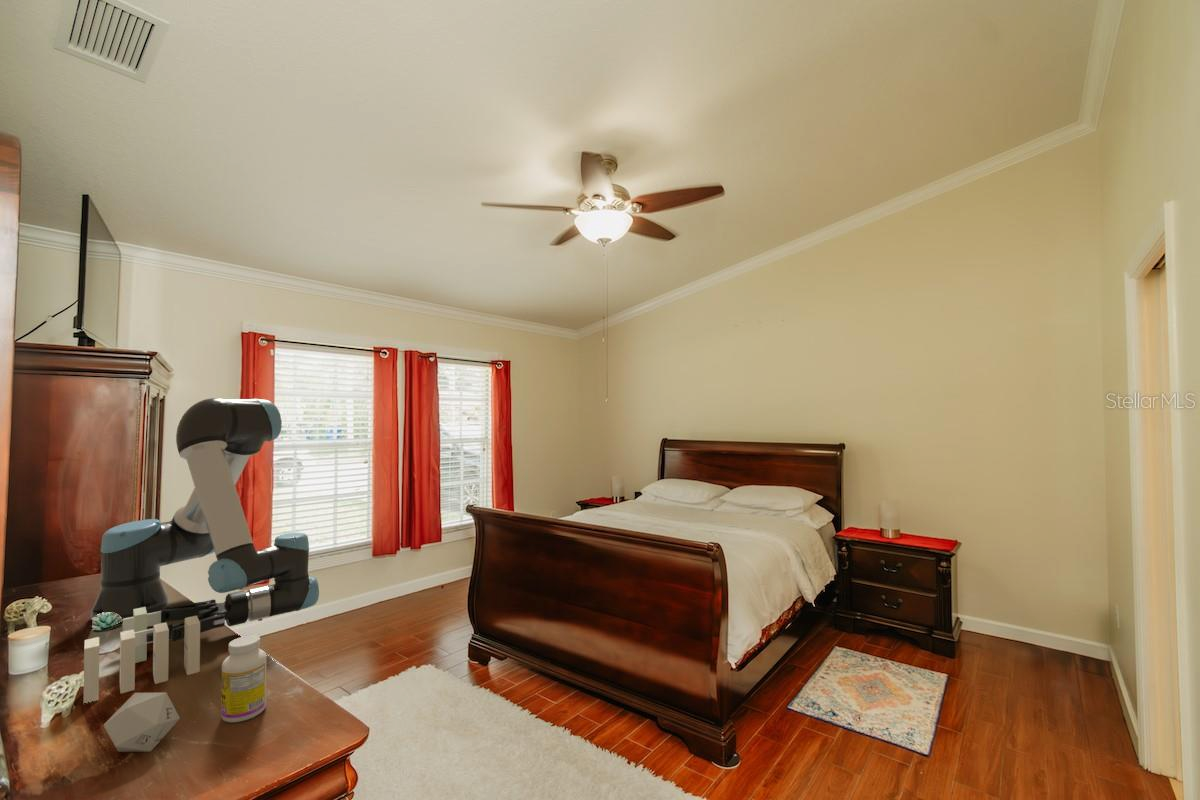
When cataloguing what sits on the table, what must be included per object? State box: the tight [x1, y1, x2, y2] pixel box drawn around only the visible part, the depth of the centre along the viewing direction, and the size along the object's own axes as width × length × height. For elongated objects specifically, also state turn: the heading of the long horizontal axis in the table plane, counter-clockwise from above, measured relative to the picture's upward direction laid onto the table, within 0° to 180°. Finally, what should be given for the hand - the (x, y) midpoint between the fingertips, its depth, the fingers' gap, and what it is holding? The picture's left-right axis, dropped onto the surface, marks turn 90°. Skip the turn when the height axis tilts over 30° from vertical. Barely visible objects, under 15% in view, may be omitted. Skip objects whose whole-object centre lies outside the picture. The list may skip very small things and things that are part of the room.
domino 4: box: [183, 616, 201, 676], centre depth 109 cm, size 2×5×10 cm, turn 44°
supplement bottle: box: [220, 634, 267, 724], centre depth 93 cm, size 7×7×13 cm
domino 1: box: [82, 636, 100, 705], centre depth 99 cm, size 2×5×10 cm, turn 44°
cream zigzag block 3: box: [152, 621, 170, 685], centre depth 106 cm, size 2×5×10 cm, turn 44°
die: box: [102, 692, 181, 753], centre depth 84 cm, size 8×9×10 cm
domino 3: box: [133, 607, 148, 664], centre depth 114 cm, size 2×5×10 cm, turn 44°
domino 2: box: [119, 629, 136, 694], centre depth 102 cm, size 2×5×10 cm, turn 44°
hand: (123, 633), depth 112 cm, fingers open, 10 cm apart
